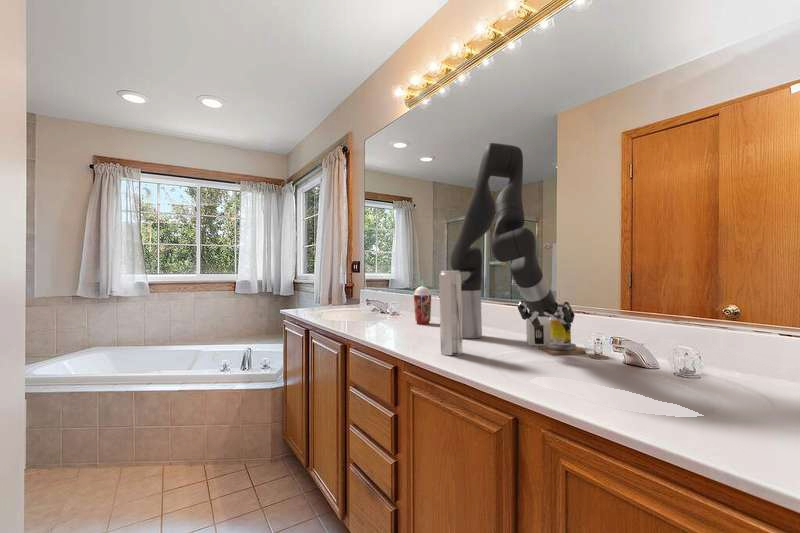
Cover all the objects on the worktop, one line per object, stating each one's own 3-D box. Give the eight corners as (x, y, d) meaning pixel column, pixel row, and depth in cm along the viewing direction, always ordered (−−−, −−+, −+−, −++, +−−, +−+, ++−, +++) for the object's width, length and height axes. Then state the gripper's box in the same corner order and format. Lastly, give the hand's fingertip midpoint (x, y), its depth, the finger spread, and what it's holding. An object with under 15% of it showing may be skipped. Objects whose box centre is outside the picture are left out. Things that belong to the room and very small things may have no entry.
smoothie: (432, 324, 176) (431, 280, 176) (414, 325, 176) (413, 280, 176) (431, 322, 184) (430, 279, 184) (413, 322, 185) (412, 280, 185)
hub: (551, 355, 112) (551, 348, 112) (538, 348, 122) (538, 341, 122) (586, 354, 113) (585, 347, 113) (569, 347, 123) (569, 340, 123)
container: (554, 346, 124) (553, 305, 124) (529, 346, 126) (528, 305, 126) (550, 342, 132) (549, 303, 132) (526, 341, 133) (525, 303, 133)
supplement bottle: (567, 346, 113) (566, 311, 113) (548, 345, 117) (547, 310, 117) (573, 343, 118) (572, 309, 118) (554, 342, 121) (553, 309, 121)
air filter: (464, 351, 119) (462, 270, 120) (460, 356, 113) (458, 270, 113) (443, 350, 122) (441, 270, 122) (438, 355, 115) (436, 270, 115)
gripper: (565, 279, 101) (581, 319, 110) (514, 279, 111) (532, 316, 119) (558, 301, 97) (575, 341, 106) (505, 299, 107) (525, 335, 115)
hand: (552, 327), depth 112 cm, fingers open, 8 cm apart
